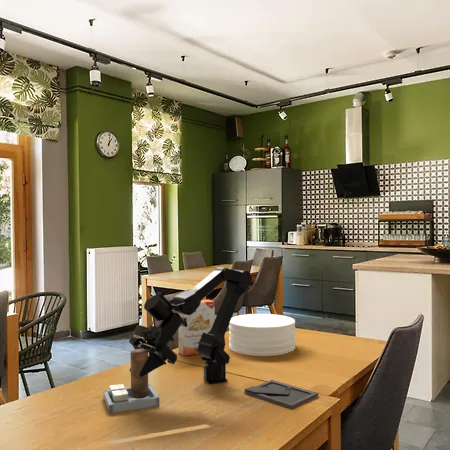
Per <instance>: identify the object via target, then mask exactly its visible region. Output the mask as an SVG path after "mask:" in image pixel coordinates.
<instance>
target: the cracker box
mask: <svg viewBox="0 0 450 450" xmlns="http://www.w3.org/2000/svg"><path fill="white" fill-rule="evenodd" d="M215 305H216V304H215V301H214V300H210V299H202V301H201V303H200V306H199V307H198V308H197V309H196V311H195V312H194V313H193V314H191V315H185V314H181V313H178V314H179V315H180V316H181V317H184V318H187V325H188V326H187V327H184V326H180V327H179V329H178V330H177V332H178V334H177V335H178V340H177V341H178V342H177V343H178V349H177V350H178V353H179V354H180V355H182V356H183V357H185V356H191V355H200V354H199V351H198V346H199V344H198V342H199V341H200V339H201V336H202V334H203V333H208V332H209V331H210V330H211V328H212V326H213V323H214V321H215V319H216V317H215V313H216V312H215V311H216V310H215V307H216V306H215Z"/></svg>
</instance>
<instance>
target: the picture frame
mask: <svg viewBox="0 0 450 450" xmlns="http://www.w3.org/2000/svg"><path fill="white" fill-rule="evenodd" d="M243 391H244V394H245V395H249V396H251V397H254V398H257V399H259V400H264V401H266V402H269V403H272V404H275V405H278V406H280V407H284V408H287V409H290V410H293V409H295V408H297V407H299V406H302V405H304V404H306V403H309V401H312V400H315V399H316V398H319V392H316V391H312V390H309V389H306V388H301V387H299V386H295V385H292V384H288V383H284V382H281V381H279V380H274V379H271V380H268V381H265V382H262V383H259V384H257V385H252V386H249V387H246V388H244V390H243Z"/></svg>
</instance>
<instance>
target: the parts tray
mask: <svg viewBox="0 0 450 450" xmlns="http://www.w3.org/2000/svg"><path fill="white" fill-rule="evenodd" d="M125 389H126V390H127V392H128V401H125V402H118V403H112V401H111V399H110V396H109V389H107V390H103V401H104V402H105V405H106V408H107V411H108V414H112V413H113V414H114V413H121V412H128V411H134V410H139V409H145V408H151V407H152V408H154V407H158V406H160V396H159V395H158V394H157V392H156V390H155V389H154V387H152V385H151V384H148V396H147V397H145V398H141V399H135V398H132V397H131V386H130V387H128V386H127V387H125Z"/></svg>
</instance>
